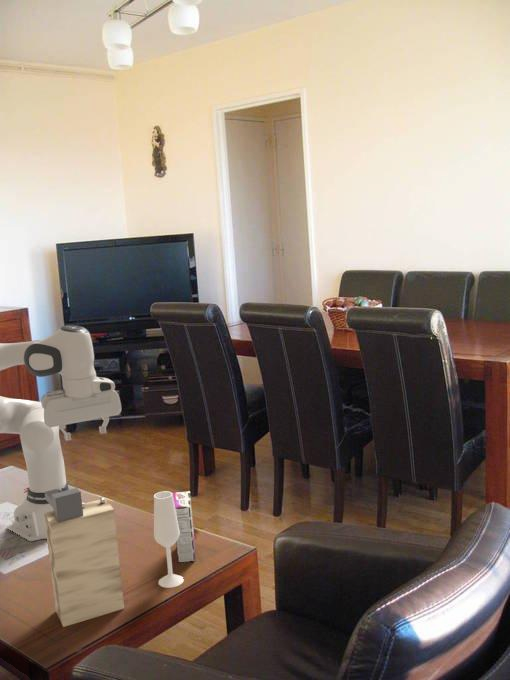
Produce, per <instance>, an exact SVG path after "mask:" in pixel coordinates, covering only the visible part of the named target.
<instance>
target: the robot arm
mask: <svg viewBox="0 0 510 680" xmlns="http://www.w3.org/2000/svg"><path fill="white" fill-rule="evenodd" d="M94 352H95V351H94V345H93V341H92V337H91V333H90V331H89V329H87V328H85V327H84V326H80V325H64V326H61V327H60V328H59V329H57V330H56V331H55V332H54V333H52V334H51V335H48V336H47V337H44V338H42V339H41V338H40V339H37V340H31V341H29V340H28V341H20V342H19V341H18V342H8V343H0V372H1V371H3V370H6V369H9V368H11V367H12V368H13V367H15V366H20V365H21V366H22V365H24V366H25V368H26V369H27V370H28V372H29V373H30V374H31V375H33V376H34V377H35V376H36V377H37V378H46V377H49V376H53V375H57V374H59V375H61V381H62V389H58V390H54V391H47V392H46V393H44V394H43V396H41V399H40V401H37V400H36V401H35V400H28V399H20V398H19V399H18V398H11V397H6V396H2V395H0V434H14V435H19V439H20V444H21V448H22V453H23V458H24V460H25V464H26V472H27V480H28V487H26V488H24V489H23V491H24V492H23V493H24V494H25V493H27V494H26V499H24V500H23V501H22V502H21V503H20V504H18V505H17V506H16V508H15V509H14V513H13V520H12V521H10V522H9V523H8V524H7V526H6V529H7V530H8V529H9V530H8V531H10V530H11V531H10V532H12V531H13V532H14V533H13V532H12V533H13V534H15V533H16V534H15V535H17V534H18V535H17V536H19V535H20V536H19V537H21V538H22V537H23V539H24V538H25V539H24V540H26V539H27V541H28V542H34V541H38V540H47V534H46V526H45V518H44V513H45V512H50V511H54V510H53V507H52V506H51V505H50V504H49V503H48V502H47V500H46V499H45V492H46V491H50V490H54V489H57V490H58V491H59V492H63V491H67V490H70V486H69V484H68V483H69V482H67V476H66V469H65V468H66V466H65V461H64V460H65V459H64V456H63V455H64V454H63V451H62V446H61V445H62V444H61V440H60V431H61V432H62V433H63V437H64V440H65V442H68V441H72V433H70V432H67V431H66V430H65V429H66V428H67V425H72V424H76V423H82V422H87V421H93V420H99V419H102V420H103V422H102V424H101V425H100V426H98V429H99V430H98V431H99V434H101V435H103V434H107V427H108V424H109V421H110V417H114V416H119V415H120V414H121V412H122V409H123V408H122V402H121V398H120V395H119V393H118V392H117V391H116V390H115V389H116V384H115V382H114V381H113V380H111V379H109V378H107V377H102V376H101V377H100V376H97V372H96V370H95V366H94V361H95V353H94Z"/></svg>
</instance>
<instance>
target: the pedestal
mask: <svg viewBox="0 0 510 680" xmlns="http://www.w3.org/2000/svg"><path fill="white" fill-rule="evenodd" d="M82 508H83V516H80V517H77V518H73V519H70V520H66V521H62V522H59V523H58V522H57V521H56V519H55V518H54V511H50V512H45V513H44V518H45V526H46V534H47V539H46V540H47V541H46V542H47V549H48V557H49V565H50V574H51V582H52V583H51V584H52V591H53V597H54V606H55V613H56V614H57V617H58V619H59V621H60V623H61V626H62V628H65V627H67V626H71V625H75V624H78V623H81V622H85V621H87V620H91V619H94V618H95V619H96V618H98V617H101V616H104V615H108V614H111V613H113V612H117V611H121V610H124V609H125V604H124V603H125V602H124V594H123V584H122V573H121V564H120V553H119V544H118V535H117V525H116V516H115V515H116V514H115V508H114V507H112V505H111V504H110V503H109V501H108V500H107V499H106V498H105V497H103V496H102V497H100V498H99V499H97V500H93V501H87V502H85V501H82Z"/></svg>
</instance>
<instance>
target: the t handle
mask: <svg viewBox="0 0 510 680" xmlns="http://www.w3.org/2000/svg"><path fill="white" fill-rule="evenodd" d="M45 499H46V500H47V502H48V503H49V504H50V505H51V506H52V507H53V510H54V518H55V519H56V521H57V522H58V523H59V522H62V521H66V520H70V519H73V518H77V517H80V516H83V508H82V502H83V500H82V493H81V491H80V489H78V488H77V487H75V488H71V489H70V488H69V490H67V491H63V492H59V491H58V490H57V489H54V490H50V491H46V492H45Z"/></svg>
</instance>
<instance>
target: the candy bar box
mask: <svg viewBox="0 0 510 680" xmlns="http://www.w3.org/2000/svg"><path fill="white" fill-rule="evenodd" d="M173 499H174V504H175V509H176V515H177V520H178V526H179V531H180V536H179V538H178V540H177V541H176V542H175V544H176V553H177V561H178V562H184V563H191V562H190V561H193V562H196V540H195V539H196V538H195V530H194V520H193V509H192V498H191V491H190V490H188V491H177V492H175V491H174V492H173Z"/></svg>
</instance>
